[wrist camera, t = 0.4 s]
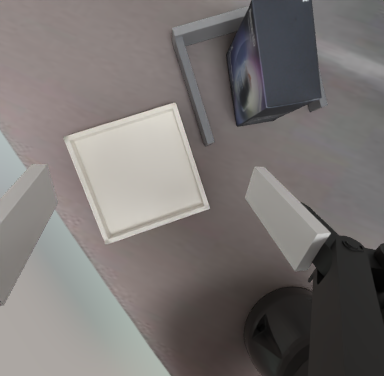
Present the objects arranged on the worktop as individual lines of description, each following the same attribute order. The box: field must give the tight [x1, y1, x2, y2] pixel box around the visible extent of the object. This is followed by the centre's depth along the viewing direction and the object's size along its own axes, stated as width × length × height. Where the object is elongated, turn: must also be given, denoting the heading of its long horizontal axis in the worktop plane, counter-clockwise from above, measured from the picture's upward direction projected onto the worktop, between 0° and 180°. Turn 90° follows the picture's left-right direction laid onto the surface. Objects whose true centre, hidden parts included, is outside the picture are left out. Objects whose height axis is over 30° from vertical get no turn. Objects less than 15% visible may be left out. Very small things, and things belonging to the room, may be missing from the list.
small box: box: [226, 0, 322, 126], centre depth 26 cm, size 11×6×10 cm, turn 10°
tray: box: [63, 102, 210, 245], centre depth 30 cm, size 15×15×2 cm
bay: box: [172, 6, 328, 146], centre depth 29 cm, size 15×18×3 cm
